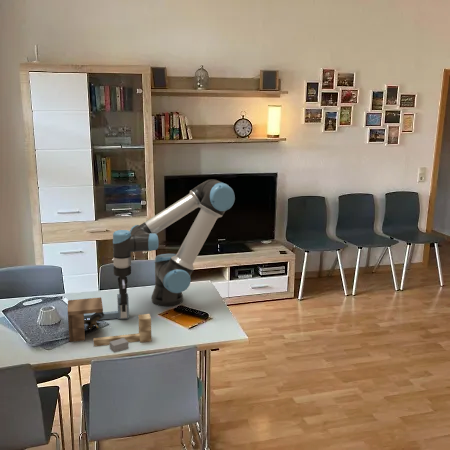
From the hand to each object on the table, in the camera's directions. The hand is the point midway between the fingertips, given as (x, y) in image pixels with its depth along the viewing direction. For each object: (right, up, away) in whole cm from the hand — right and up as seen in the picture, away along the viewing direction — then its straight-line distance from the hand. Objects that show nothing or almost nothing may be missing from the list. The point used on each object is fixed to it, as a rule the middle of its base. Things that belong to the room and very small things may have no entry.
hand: (123, 315), depth 221 cm
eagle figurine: (-11, -4, -10) cm, 15 cm away
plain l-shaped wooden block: (+4, -7, -22) cm, 23 cm away
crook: (-8, -2, -6) cm, 10 cm away
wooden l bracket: (-12, -5, -15) cm, 20 cm away
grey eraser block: (+4, -8, -27) cm, 28 cm away
